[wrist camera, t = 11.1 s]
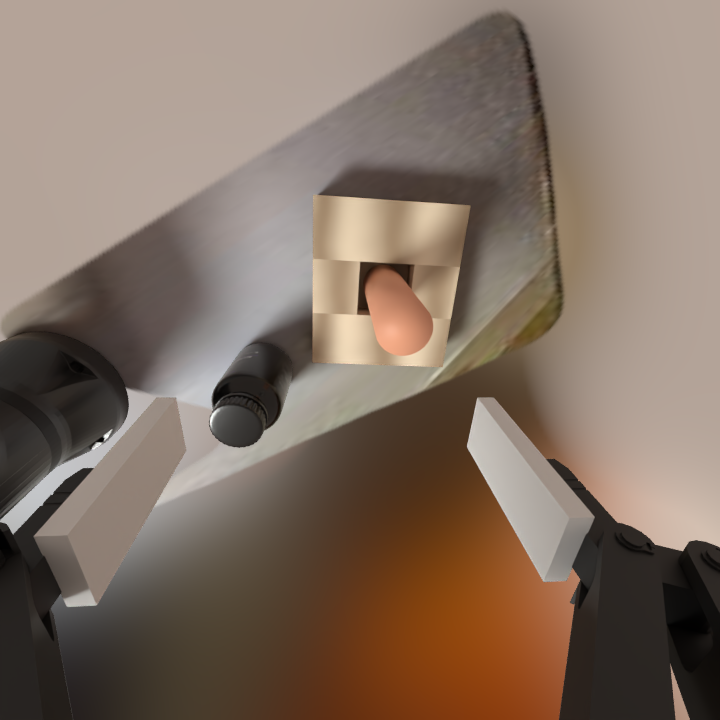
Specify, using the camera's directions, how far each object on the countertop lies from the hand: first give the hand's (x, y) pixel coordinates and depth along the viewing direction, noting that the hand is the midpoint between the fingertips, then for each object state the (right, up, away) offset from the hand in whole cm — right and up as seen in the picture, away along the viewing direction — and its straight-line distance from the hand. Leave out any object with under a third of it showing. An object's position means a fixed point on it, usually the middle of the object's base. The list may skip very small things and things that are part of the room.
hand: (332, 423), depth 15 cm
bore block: (+3, +11, +22) cm, 25 cm away
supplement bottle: (-10, +2, +26) cm, 28 cm away
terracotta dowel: (+4, +11, +21) cm, 24 cm away
